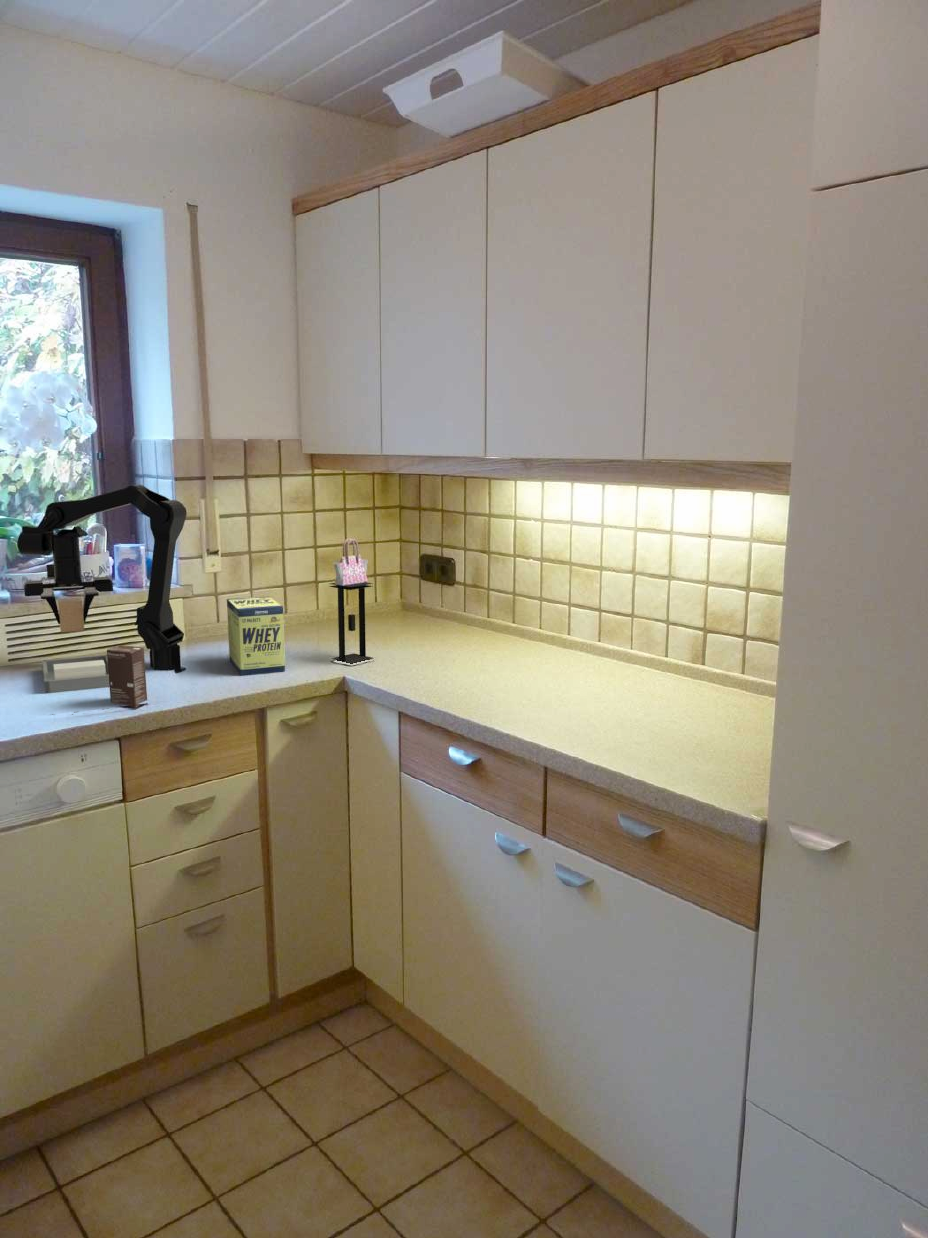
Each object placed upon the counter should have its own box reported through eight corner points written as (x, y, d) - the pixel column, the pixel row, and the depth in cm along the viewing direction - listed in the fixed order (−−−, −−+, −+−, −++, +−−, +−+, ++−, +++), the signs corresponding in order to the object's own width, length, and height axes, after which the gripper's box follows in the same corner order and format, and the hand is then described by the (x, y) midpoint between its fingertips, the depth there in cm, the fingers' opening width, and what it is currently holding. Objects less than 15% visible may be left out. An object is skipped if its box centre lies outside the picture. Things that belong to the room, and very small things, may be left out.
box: (109, 707, 186) (105, 649, 183) (124, 701, 190) (120, 644, 188) (135, 710, 184) (131, 651, 182) (149, 704, 188) (145, 646, 186)
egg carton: (106, 685, 198) (105, 664, 197) (55, 690, 194) (54, 669, 193) (104, 679, 203) (103, 659, 202) (55, 684, 199) (53, 664, 198)
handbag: (357, 655, 231) (355, 535, 225) (378, 660, 226) (377, 537, 220) (325, 662, 223) (322, 538, 218) (346, 667, 219) (343, 541, 213)
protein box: (241, 676, 210) (238, 609, 207) (228, 661, 224) (225, 598, 221) (286, 672, 215) (284, 606, 212) (271, 657, 229) (269, 595, 226)
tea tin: (84, 630, 214) (82, 600, 213) (61, 632, 212) (58, 602, 211) (83, 626, 219) (80, 597, 217) (60, 628, 217) (57, 598, 215)
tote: (117, 690, 198) (116, 674, 197) (46, 698, 192) (44, 681, 191) (109, 669, 216) (108, 654, 215) (43, 675, 210) (42, 660, 209)
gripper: (106, 550, 223) (111, 613, 226) (21, 554, 215) (27, 619, 218) (111, 555, 213) (115, 622, 216) (21, 559, 205) (27, 628, 208)
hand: (71, 622), depth 215 cm, fingers closed on tea tin, 5 cm apart
